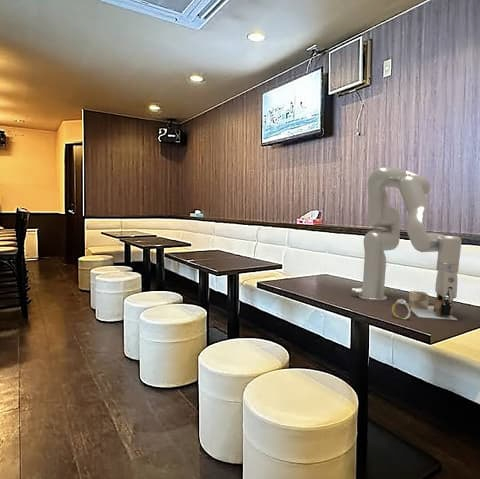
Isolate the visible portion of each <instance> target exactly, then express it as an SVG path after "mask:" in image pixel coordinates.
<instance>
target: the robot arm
mask: <svg viewBox="0 0 480 479" xmlns="http://www.w3.org/2000/svg"><path fill="white" fill-rule="evenodd" d="M387 187H388V188H397V189H398V190H399V193H400V196H401V198H402V200H403V203H404V205H405V208H406V211H407V215H408V216H407V219H406V232H407V235H408V238H409V240H410V243H411V245H412V247H413V248H414V249H415V250H416V251H417V252H420V253H432V252H433V253H435V252H436V253H437V262H436V271H437V273H436V277H435V278H436V279H435V280H436V281H435V288H434V291H435V293H436V298H435V299H439V300H443V305H442V306H441V315H446V316H449V315H450V310H451V303H453V301H454V299H456V298H457V295H458V294H457V293H458V273H459V267H460V257H461V248H462V238H461V236H457V235H450V234H449V235H447V234H446V235H445V234H442V233H437V232H436V233H435V232H427V231H426V229H425V225H424V216H425V214H426V213H427V212H428V211H429V210H430V203H429V201H428V199H427V196H426V195H427V194H428V193H429V192H430V190H431V183H430V181H429V180H428V178H427V177H425V176H423V175H420V174H417V173H414V172H411V171H409V170H407V169H403V168H397V167H396V168H395V167H390V166H382V167H381V166H380V167H378V168H376V169H374V170H373V171H372V172H370V174H369V177H368V179H367V197H368V198H367V223H368V225H369V226H371V227H374V228H381V229H375V230H374V229H373V230H369V231H368V232H367V233H365V235H364V238H363V247H364V248H363V250H364V260H363V276H362V277H363V278H362V286H360V287H358V288H356V287H355V288H354V287H352V288H351V292H352V293H356V294H358V297H359V298H360V299H362V300H365V301H366V300H373V301H374V300H376V301H382V300H383V301H385V300H387V299H388V296H386V295H385V280H386V271H387V270H386V269H387V268H386V267H387V257H386V253H385V251H392V250H395V249H396V248H398V246H399V244H400V238H401V237H400V236H401V235H400V234H401V233H400V232H401V217H400V212H399V211H398V210H397V209H396V208H394V207H392V206H389V204H388V200H389V198H388V193H387V190H386V188H387ZM445 300H446V301H445Z"/></svg>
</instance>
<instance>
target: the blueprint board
mask: <svg viewBox="0 0 480 479" xmlns="http://www.w3.org/2000/svg"><path fill="white" fill-rule="evenodd" d="M410 307H411V306H410ZM411 312H413V313H414V314H415V316H417V317H418V318H428V319H440V320H453V321H458V319H457V318H456V317H454V316H453V315H452V316H444V315H437V314H436V313H435V312H434V305H428V309H417V308H412V307H411Z"/></svg>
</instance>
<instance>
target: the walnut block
mask: <svg viewBox="0 0 480 479" xmlns="http://www.w3.org/2000/svg"><path fill="white" fill-rule="evenodd" d="M446 300H447V299H445V301H446ZM442 305H443V300H439V299H436V298H435V299H434V302H433V306H434V312H435V313H436V314H437V315H441V306H442ZM453 307H454V303H453V302H452V303H451V310H450V315H449V316H453V309H454V308H453ZM444 316H446V315H444Z"/></svg>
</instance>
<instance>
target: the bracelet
mask: <svg viewBox="0 0 480 479" xmlns="http://www.w3.org/2000/svg"><path fill="white" fill-rule="evenodd" d="M399 304H402V305H403V304H404V306H406V308H407V312H408V313H407V315H406V316H405V317H402V316H401V317H400V316H399V315H398V314H397V313H396V309H395V308H396V305H399ZM391 312H392V314H393V316H394V317H395V318H397V319H402V320H408V319H409V318H410V316H411V315H412V310H411V307H410V305H409V302H407V301H406V300H405V299H404V298H400V299H398V298H397V300H396V301H395V302H394V303H393V304H392V305H391Z"/></svg>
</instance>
